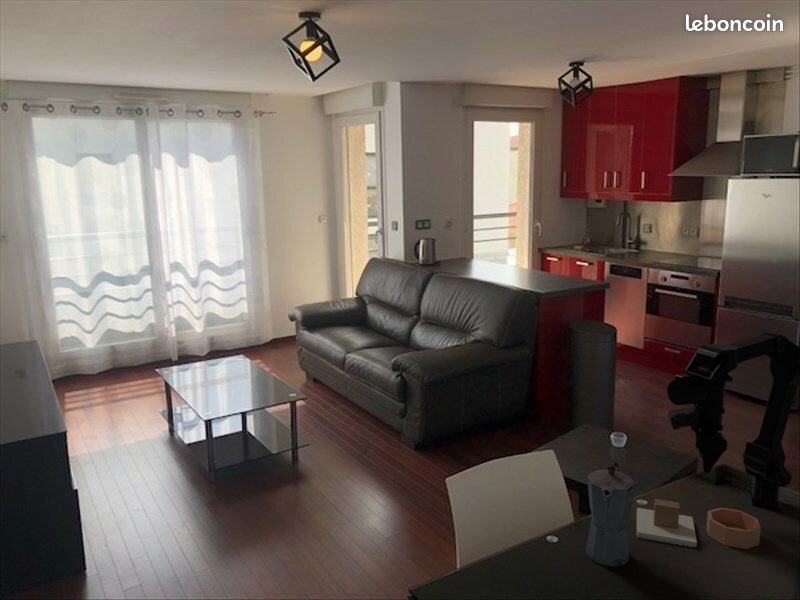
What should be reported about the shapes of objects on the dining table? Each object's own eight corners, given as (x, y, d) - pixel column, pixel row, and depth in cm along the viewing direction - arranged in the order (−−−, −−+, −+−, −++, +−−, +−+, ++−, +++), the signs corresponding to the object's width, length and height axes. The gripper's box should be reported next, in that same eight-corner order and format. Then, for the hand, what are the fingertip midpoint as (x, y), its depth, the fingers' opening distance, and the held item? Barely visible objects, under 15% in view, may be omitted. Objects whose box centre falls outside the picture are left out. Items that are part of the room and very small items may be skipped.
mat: (636, 512, 150) (636, 510, 150) (691, 522, 146) (691, 520, 146) (636, 537, 139) (636, 535, 139) (696, 548, 135) (696, 545, 135)
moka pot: (579, 568, 127) (584, 475, 124) (586, 531, 141) (592, 447, 138) (628, 579, 124) (636, 483, 121) (631, 540, 138) (638, 454, 135)
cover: (637, 510, 150) (638, 488, 149) (691, 520, 146) (694, 496, 145) (637, 535, 139) (638, 510, 138) (696, 545, 135) (698, 520, 134)
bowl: (705, 521, 147) (706, 505, 146) (753, 529, 143) (755, 513, 143) (709, 542, 137) (711, 525, 137) (761, 551, 134) (763, 534, 133)
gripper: (670, 385, 156) (665, 445, 158) (674, 408, 139) (668, 475, 141) (719, 391, 152) (714, 452, 154) (730, 414, 135) (724, 483, 137)
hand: (704, 464), depth 147 cm, fingers open, 9 cm apart
